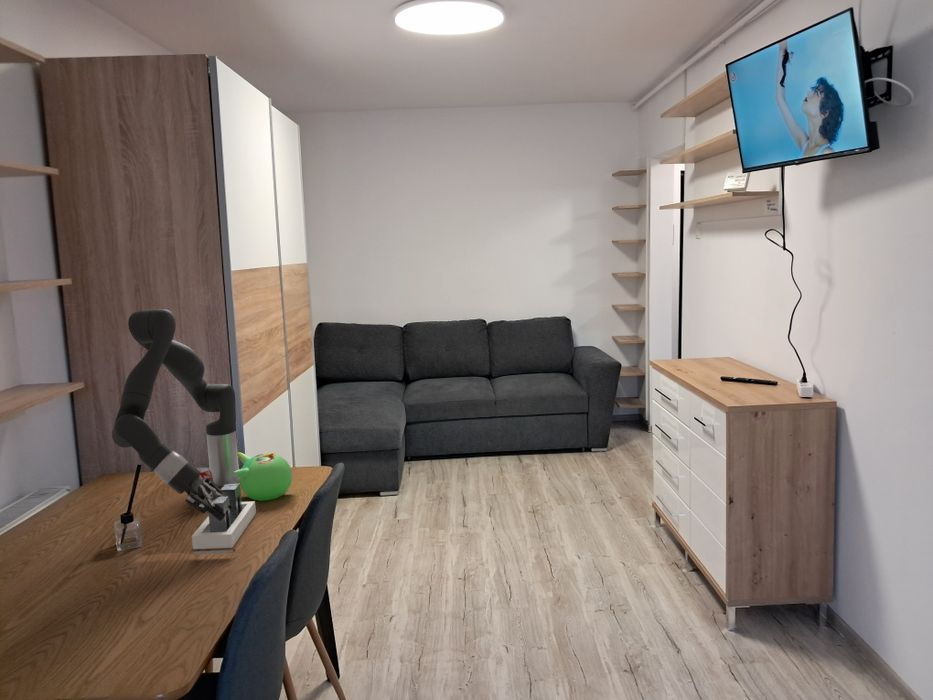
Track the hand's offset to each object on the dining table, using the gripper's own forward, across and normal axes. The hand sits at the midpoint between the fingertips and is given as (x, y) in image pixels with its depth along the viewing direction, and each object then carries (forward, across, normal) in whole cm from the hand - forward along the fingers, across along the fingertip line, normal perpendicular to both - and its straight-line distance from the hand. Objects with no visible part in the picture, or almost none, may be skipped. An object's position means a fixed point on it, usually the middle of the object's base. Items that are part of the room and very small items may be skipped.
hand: (226, 513), depth 196 cm
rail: (+4, +4, +7) cm, 9 cm away
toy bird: (+7, +32, +4) cm, 33 cm away
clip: (+3, 0, +6) cm, 6 cm away
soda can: (-5, +26, +16) cm, 32 cm away
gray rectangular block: (+3, +11, +6) cm, 12 cm away
